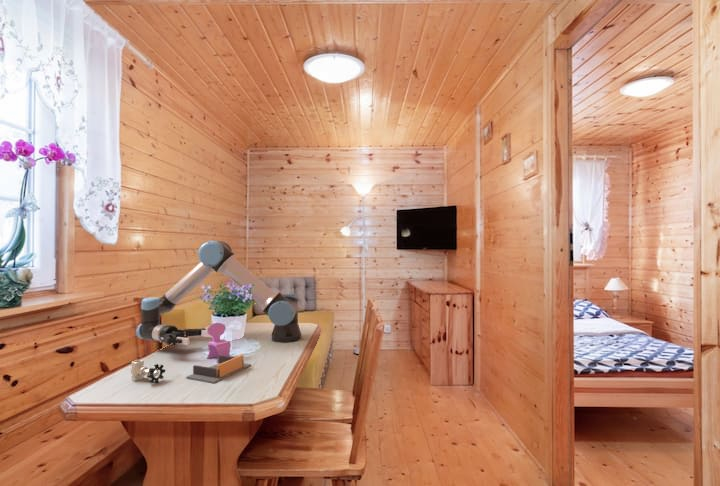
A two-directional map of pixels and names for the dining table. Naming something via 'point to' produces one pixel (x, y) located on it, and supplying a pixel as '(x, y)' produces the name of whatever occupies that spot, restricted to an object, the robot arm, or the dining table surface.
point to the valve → (146, 371)
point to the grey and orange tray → (219, 369)
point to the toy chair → (218, 341)
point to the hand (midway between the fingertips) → (201, 337)
